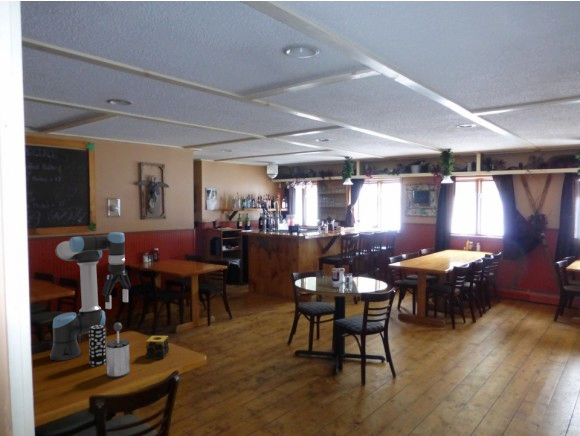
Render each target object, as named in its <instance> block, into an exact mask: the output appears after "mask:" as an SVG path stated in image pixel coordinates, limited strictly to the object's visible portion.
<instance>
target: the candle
mask: <svg viewBox="0 0 580 436" xmlns="http://www.w3.org/2000/svg"><path fill="white" fill-rule="evenodd" d="M145 344H146V346H145V348H146V349H145V350H146V351H145V359H147V360H151V358H152V359H153V360H155V359H156V360H158V359H157V358H162V359H161V360H163V358H164V357H165V356H167V355H168V354H169V353H168V352H169V350H170V348H169V346H170V345H169V335H150V337H149V338H148V339H147V340H146V341H145ZM167 353H168V354H167ZM166 354H167V355H166ZM165 358H166V357H165ZM165 358H164V359H165Z"/></svg>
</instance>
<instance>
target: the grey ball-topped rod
mask: <svg viewBox="0 0 580 436" xmlns="http://www.w3.org/2000/svg"><path fill="white" fill-rule="evenodd" d="M113 329H114V331H116V340H117V343H119V340H120V331H121V330H122V329H123V325H122V323H121V322H115V323H114V324H113Z"/></svg>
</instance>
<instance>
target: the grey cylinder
mask: <svg viewBox="0 0 580 436" xmlns="http://www.w3.org/2000/svg"><path fill="white" fill-rule="evenodd" d="M129 374H130V341H129V339H124V338H121V339H119V343H117V339H114V340H109V341H107V342H106V376H107V377H108V378H110V379H120V378H124V377H126V376H128V375H129Z"/></svg>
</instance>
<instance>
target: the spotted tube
mask: <svg viewBox="0 0 580 436" xmlns="http://www.w3.org/2000/svg"><path fill="white" fill-rule="evenodd" d="M106 344H107V325H106V324H105V325H101V324H100V325H93V326H90V327H89V333H88V350H89V351H88V355H89V357H88V359H89V366H90V367H100V366H104V365H107V345H106Z"/></svg>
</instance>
